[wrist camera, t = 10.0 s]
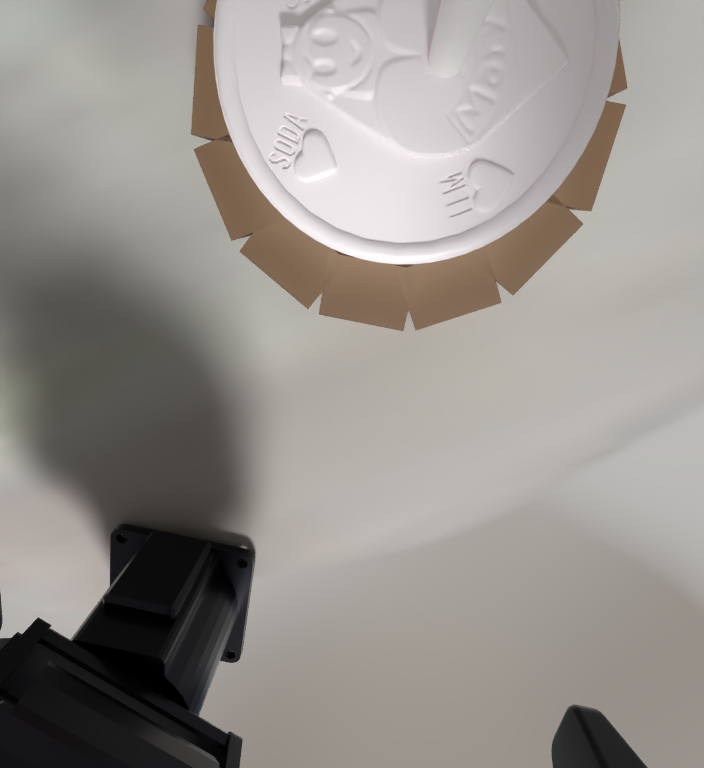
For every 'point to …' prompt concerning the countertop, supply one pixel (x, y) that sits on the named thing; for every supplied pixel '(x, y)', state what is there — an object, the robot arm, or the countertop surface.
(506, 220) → the smoothie
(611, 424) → the countertop surface
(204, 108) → the walnut ring
